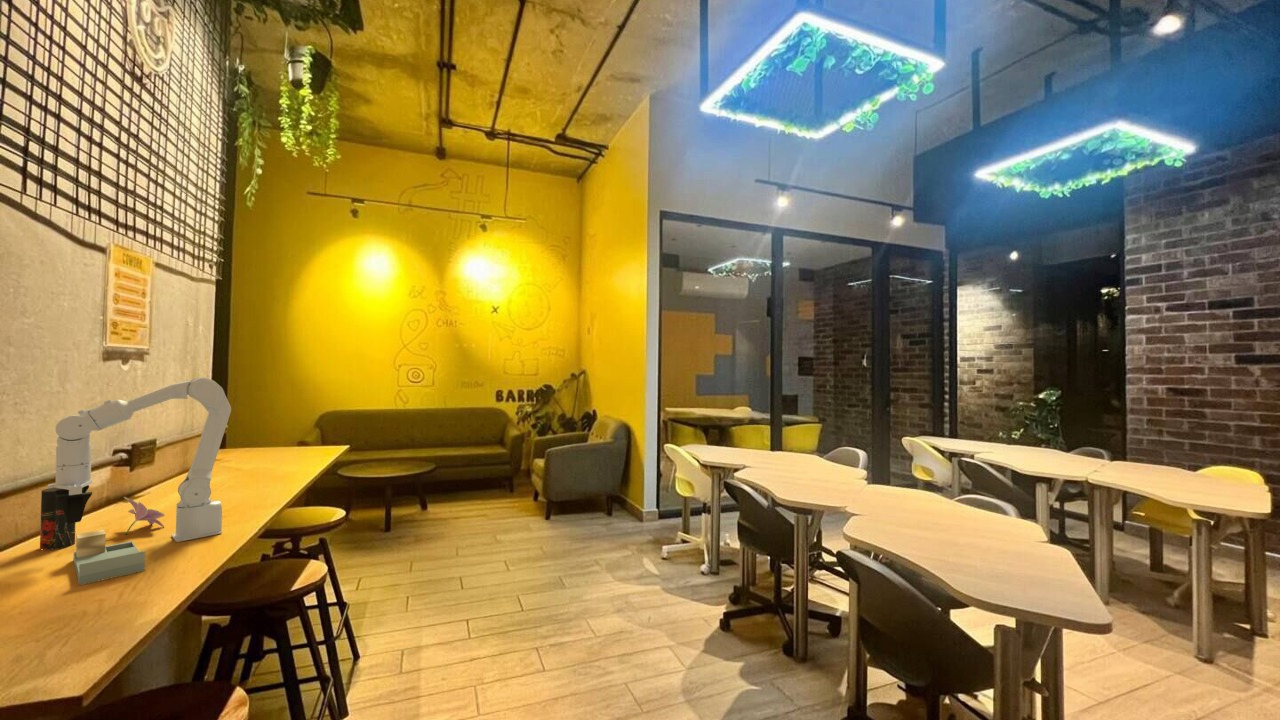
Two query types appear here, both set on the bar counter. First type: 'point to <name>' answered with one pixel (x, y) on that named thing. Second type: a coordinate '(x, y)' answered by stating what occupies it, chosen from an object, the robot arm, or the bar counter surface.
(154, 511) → the lily
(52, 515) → the deodorant
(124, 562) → the board
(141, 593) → the bar counter surface
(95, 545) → the beech block
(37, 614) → the bar counter surface
